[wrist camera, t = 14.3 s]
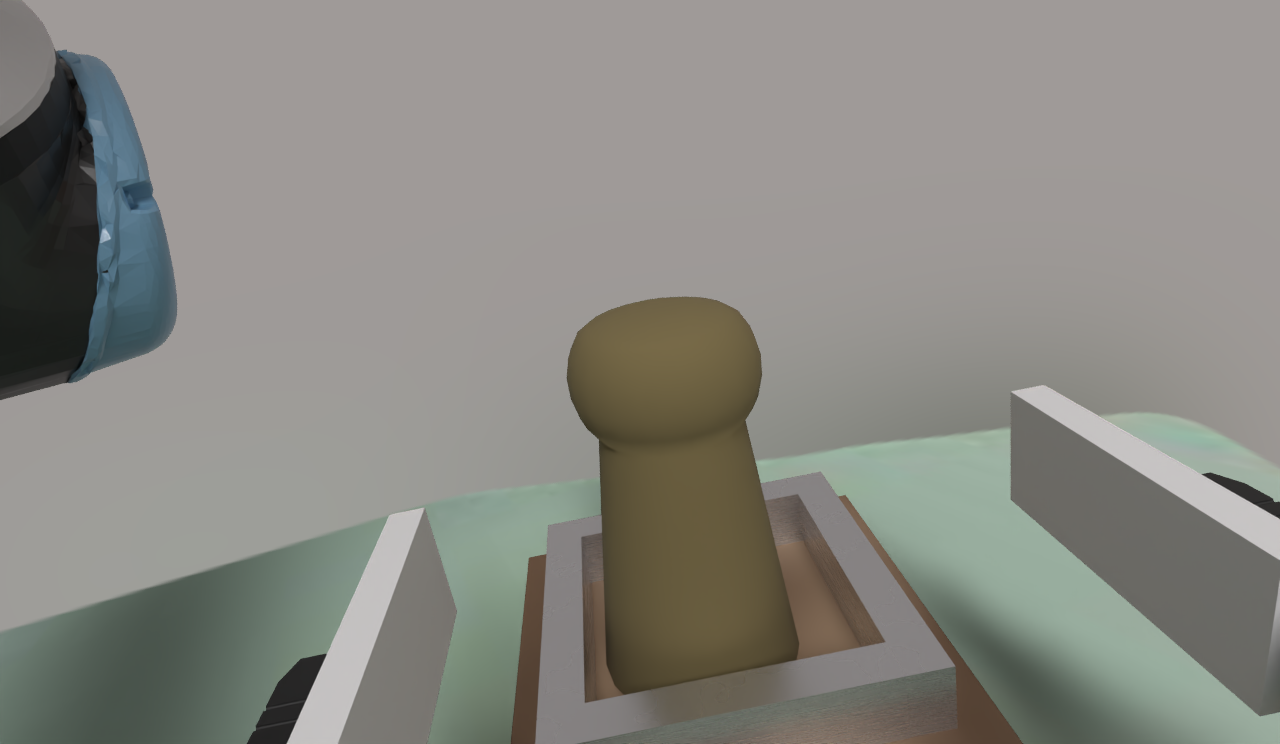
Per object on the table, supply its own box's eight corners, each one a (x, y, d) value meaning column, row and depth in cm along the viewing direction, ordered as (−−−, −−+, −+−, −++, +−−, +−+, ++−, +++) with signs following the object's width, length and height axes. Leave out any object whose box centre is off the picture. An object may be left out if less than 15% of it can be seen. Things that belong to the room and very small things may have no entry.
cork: (596, 603, 26) (537, 300, 22) (764, 568, 26) (735, 265, 22) (618, 742, 20) (544, 366, 16) (830, 692, 21) (808, 318, 17)
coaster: (506, 892, 18) (477, 807, 17) (533, 574, 30) (517, 514, 29) (1033, 783, 18) (1034, 693, 17) (846, 512, 30) (841, 451, 29)
